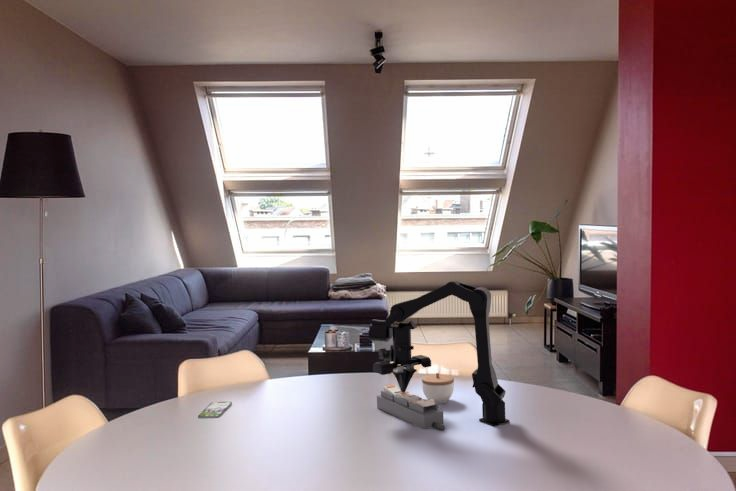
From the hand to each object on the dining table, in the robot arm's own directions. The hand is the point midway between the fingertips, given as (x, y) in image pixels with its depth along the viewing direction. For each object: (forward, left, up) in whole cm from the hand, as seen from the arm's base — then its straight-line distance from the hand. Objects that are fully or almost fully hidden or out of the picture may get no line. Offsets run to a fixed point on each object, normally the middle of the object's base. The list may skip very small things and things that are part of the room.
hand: (403, 391), depth 189 cm
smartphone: (+40, +48, -8) cm, 63 cm away
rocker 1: (-11, 0, -1) cm, 11 cm away
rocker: (+5, 0, -1) cm, 5 cm away
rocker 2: (-3, 0, -1) cm, 3 cm away
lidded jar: (+4, -17, -7) cm, 19 cm away
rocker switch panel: (-5, 0, -7) cm, 8 cm away
